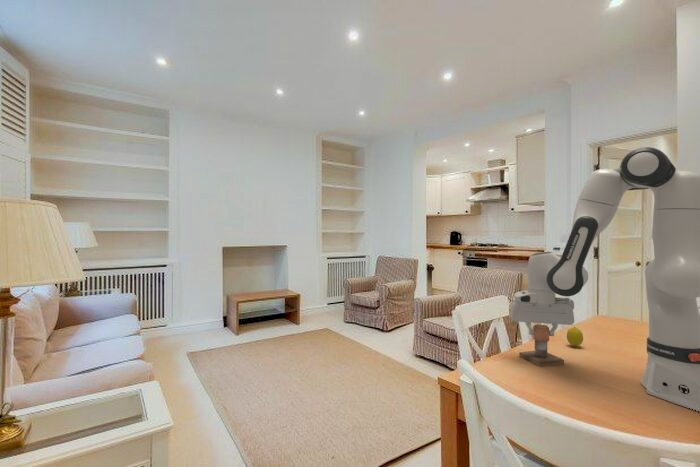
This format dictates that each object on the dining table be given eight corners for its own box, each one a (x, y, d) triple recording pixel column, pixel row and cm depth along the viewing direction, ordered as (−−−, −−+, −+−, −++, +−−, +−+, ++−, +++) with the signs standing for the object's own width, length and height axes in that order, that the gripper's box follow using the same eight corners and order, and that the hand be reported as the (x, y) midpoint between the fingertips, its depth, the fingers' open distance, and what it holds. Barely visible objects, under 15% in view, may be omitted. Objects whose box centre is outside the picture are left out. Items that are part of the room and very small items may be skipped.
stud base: (564, 364, 119) (564, 342, 119) (540, 366, 116) (540, 345, 116) (541, 353, 129) (541, 334, 128) (519, 356, 126) (519, 336, 126)
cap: (552, 341, 121) (552, 327, 121) (540, 342, 119) (541, 328, 119) (541, 336, 125) (541, 323, 125) (530, 337, 124) (530, 324, 124)
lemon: (582, 350, 132) (582, 329, 132) (565, 347, 136) (566, 327, 136) (583, 346, 137) (583, 326, 137) (567, 343, 140) (567, 324, 140)
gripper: (571, 296, 122) (570, 334, 123) (509, 293, 128) (509, 330, 128) (577, 300, 116) (577, 340, 117) (512, 297, 122) (512, 335, 122)
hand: (541, 334), depth 122 cm, fingers closed on cap, 5 cm apart
